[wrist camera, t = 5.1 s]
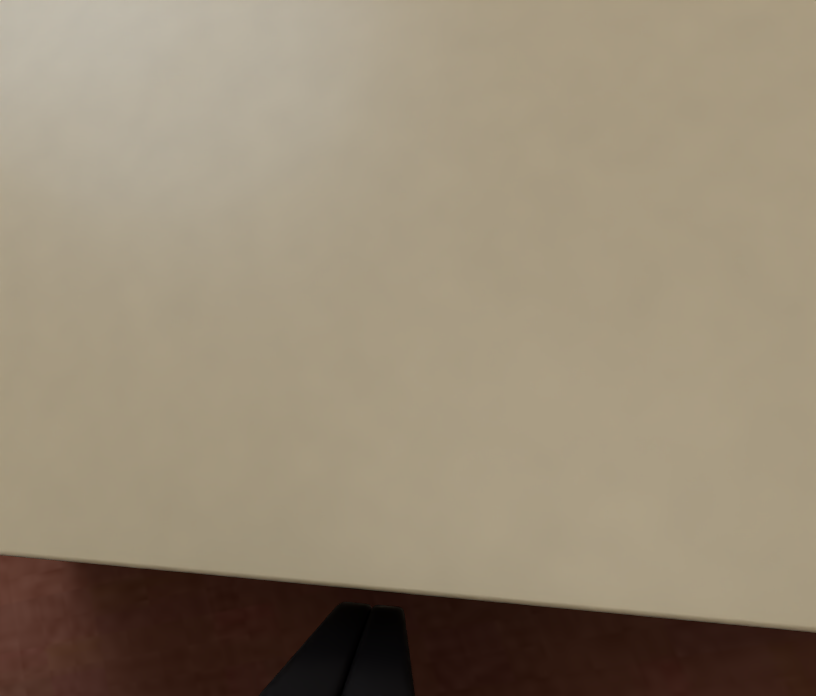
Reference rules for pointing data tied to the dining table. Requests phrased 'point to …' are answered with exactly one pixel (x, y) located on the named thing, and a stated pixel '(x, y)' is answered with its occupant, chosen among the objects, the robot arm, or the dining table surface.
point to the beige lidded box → (416, 297)
